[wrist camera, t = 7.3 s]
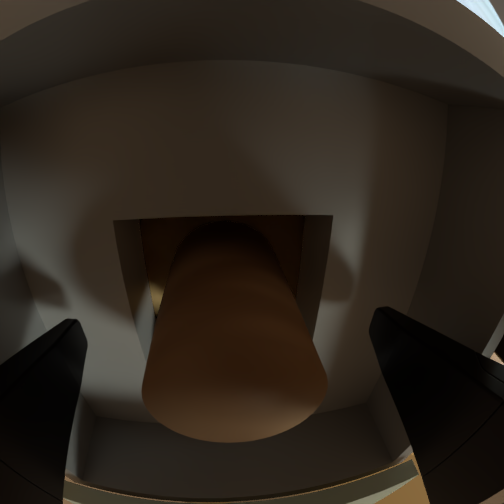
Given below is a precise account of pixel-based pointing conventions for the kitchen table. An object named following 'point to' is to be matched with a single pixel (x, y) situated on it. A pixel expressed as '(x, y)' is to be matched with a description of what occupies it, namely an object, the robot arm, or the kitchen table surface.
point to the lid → (330, 500)
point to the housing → (249, 204)
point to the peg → (230, 342)
